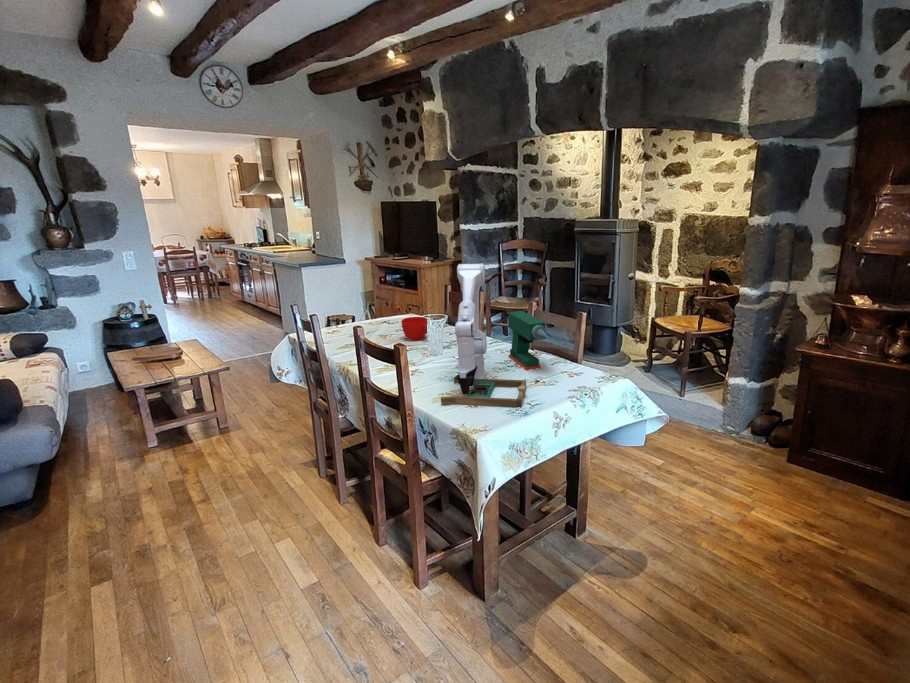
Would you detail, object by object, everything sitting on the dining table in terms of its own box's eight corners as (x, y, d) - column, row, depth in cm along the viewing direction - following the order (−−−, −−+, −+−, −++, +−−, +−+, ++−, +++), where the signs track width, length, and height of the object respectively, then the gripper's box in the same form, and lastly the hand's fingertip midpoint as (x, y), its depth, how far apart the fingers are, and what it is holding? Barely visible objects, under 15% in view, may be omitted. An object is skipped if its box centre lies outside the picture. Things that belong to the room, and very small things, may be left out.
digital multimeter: (467, 403, 170) (466, 395, 169) (475, 387, 184) (475, 379, 183) (488, 404, 169) (487, 396, 168) (494, 388, 182) (494, 380, 182)
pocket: (454, 382, 189) (454, 373, 188) (527, 385, 182) (527, 376, 182) (440, 405, 168) (439, 396, 167) (522, 409, 162) (522, 400, 161)
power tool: (557, 379, 187) (558, 328, 181) (540, 381, 185) (541, 330, 179) (523, 355, 216) (523, 310, 211) (508, 357, 214) (507, 312, 209)
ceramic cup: (418, 345, 237) (417, 325, 234) (397, 339, 249) (396, 320, 246) (438, 339, 245) (437, 320, 242) (417, 334, 257) (416, 315, 254)
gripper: (459, 347, 180) (461, 382, 184) (450, 360, 167) (452, 397, 170) (478, 347, 179) (479, 382, 182) (470, 360, 165) (472, 398, 169)
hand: (467, 389), depth 176 cm, fingers open, 7 cm apart
